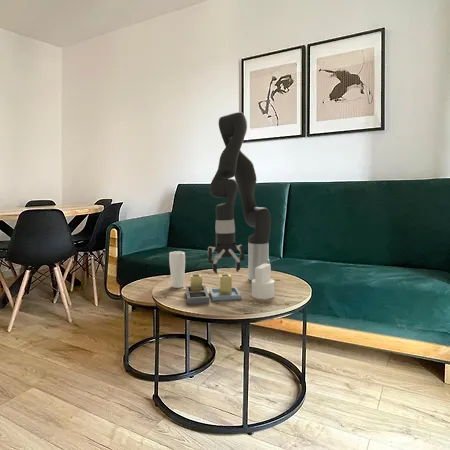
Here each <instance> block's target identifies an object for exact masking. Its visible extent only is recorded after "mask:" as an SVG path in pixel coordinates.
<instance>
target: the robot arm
mask: <svg viewBox="0 0 450 450" xmlns="http://www.w3.org/2000/svg"><path fill="white" fill-rule="evenodd" d="M218 127H219V133H220V135H221V139H222V140H223V144H224V146H225V148H224V149H223V151H222V152H221V154H220V157H219V159H218V160H219V162H218V167H217V171H216V172H215V174H214V176H213V178H212V180H211V183H210V184H209V192H210V195H211V197H213V198H216V199H220V198H221V199H222V198H223V199H224V198H225V199H227V200H226V202H224V203H220V204H217V205H216V206H215V225H214V226H215V227H214V229H215V246H208V247H207V261H208V263H209V264H212V271H213V272H214V274H218V264H217V262H218V261H219V260H220V259H221V258H231V257H233V259H235V271H236V272H237V273H238V272H239V271H240V270H241V262H242V261H245V258H246V257H245V249H244V248H245V247H244V245H242V244H239V245H237V244H236V224H235V203H236V198H237V194H238V193H239V198H240V201H241V206H242V207H241V208H242V213H243V218H244V221H245V223H246V224H247V225H248V226H249V227H251V228H254V233H253V234H251V235H249V236H248V238H247V239H248V241H247V242H248V245H247V247H248V251H247V253H248V254H247V255H248V262H247V263H248V265H247V266H248V276H247V277H248V281H250V282H252V280H253V279H255V268H256V267H258V266H260V265H262V264H264V263H265V264H271V260H270V259H269V258H270V257H269V255H270V254H269V252H270V251H269V249H270V248H269V240H270V238H271V237H270V236H271V228H272V227H271V226H272V215H271V212H270V210H269V209H268V208H267V207H262V206H261V207H259V206H257V205H258V204H257V203H256V199H255V191H256V190H255V189H256V184H257V173H256V171H255V166H254V163H253V161H252V160H251V159H250V158H249V157H248V156H247V155H246V154H245V153H244V152H243V151H242V150H241V148H242V145H243V142H244V141H245V140H244V139H245V136H246V134H247V130H248V121H247V118H246V115H245V114H244V112H241V111H238V112H237V111H236V112H233V113H230V114H225V115H222V116H221V117H219V118H218ZM233 178H234V179H233ZM237 250H238V251H239V257H238V256H237V255H236V254H235V252H236V251H237ZM214 251H215V252H216V254H215V256H214V257H212V255H213V253H214Z"/></svg>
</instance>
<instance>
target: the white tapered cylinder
mask: <svg viewBox="0 0 450 450" xmlns="http://www.w3.org/2000/svg"><path fill="white" fill-rule="evenodd" d="M168 253H169V257H168V259H169V263H168V264H169V270H170V278H171V281H170V282H171V287H172V288H174V289H181V288H184V286H185V272H186V271H185V270H186V254H185V253H186V252H185V251H181V250H177V251H176V250H175V251H170V252H168Z"/></svg>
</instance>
